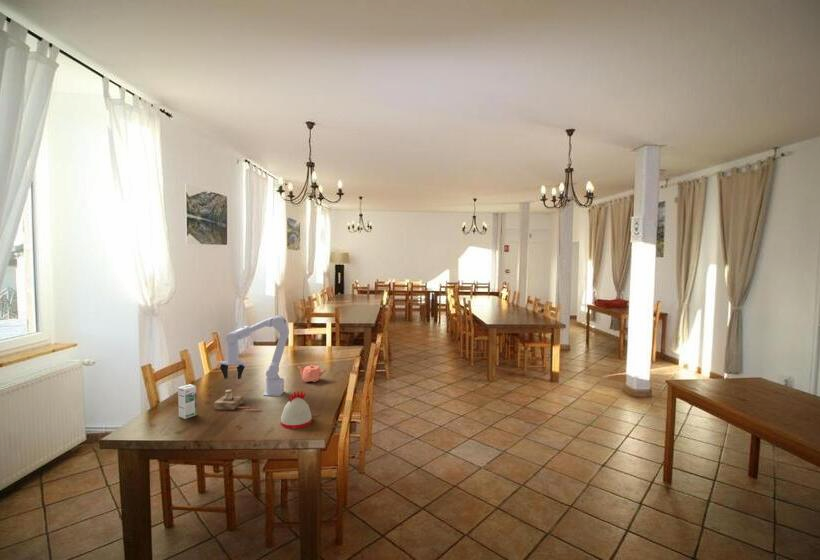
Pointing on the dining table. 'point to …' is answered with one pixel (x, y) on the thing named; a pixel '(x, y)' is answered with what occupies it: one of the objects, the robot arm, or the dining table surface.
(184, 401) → the syrup box
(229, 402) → the wooden square frame
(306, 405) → the kitchen timer
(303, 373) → the teapot
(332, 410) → the dining table surface
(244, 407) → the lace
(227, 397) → the tan round log
